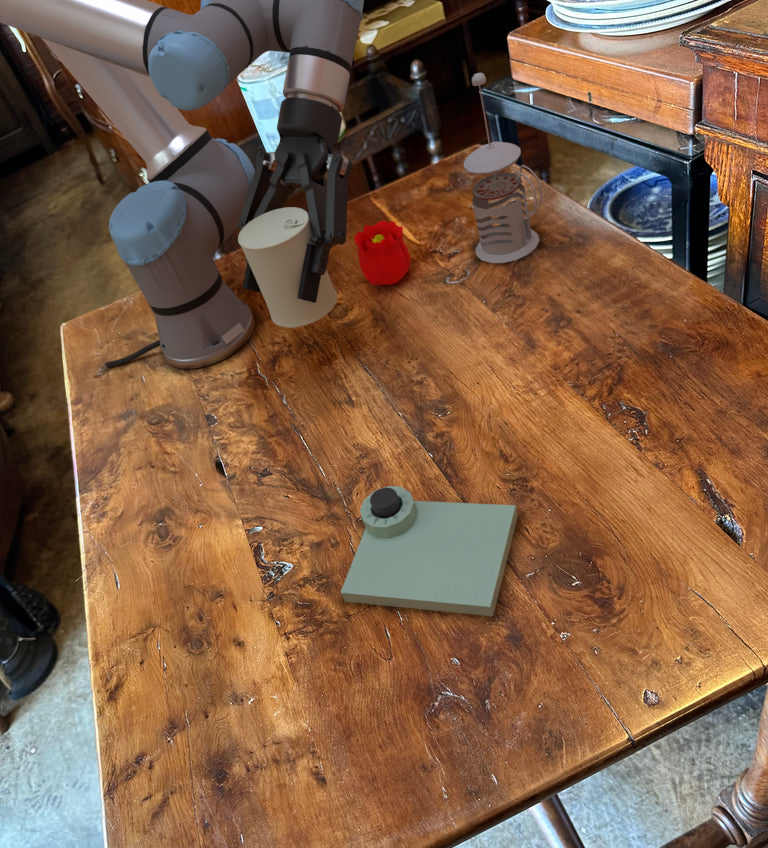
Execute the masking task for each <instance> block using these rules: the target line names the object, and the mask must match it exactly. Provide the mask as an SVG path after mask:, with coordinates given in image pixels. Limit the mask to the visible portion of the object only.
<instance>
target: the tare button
mask: <svg viewBox="0 0 768 848" xmlns="http://www.w3.org/2000/svg"><path fill="white" fill-rule="evenodd" d="M376 490H377V491H375V490H374V491H375V492H374V491H373V492H374V493H373V494H372V496H371V498H370V503H371V506H372V508H373V510H374V513H375V515H376V516H378V517H379V518H389V517H392V516H394V515H396V514H397V513H398V512H399V510H400V507H401V504H400V501H399V498H398V496H397V493H396V491H395V490H393V489H392V488H384V487H381V488H379V489H376Z"/></svg>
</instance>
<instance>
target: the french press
mask: <svg viewBox="0 0 768 848" xmlns="http://www.w3.org/2000/svg"><path fill="white" fill-rule="evenodd" d="M486 82H487V78H486V76H485V74H484V73H483V72H477V73H474V74H473V76H472V77H471V85H472V86H473V87H477V86H478V90H479V96H480V101H481V107H482V113H483V118H484V125H485V130H486V136H487V142H488V143H486V144H482V145H480V146H479V147H477V148H476V149H475V150H473V151H472V152H471V153H470V154H468V155H467V156H466V158H465V160H464V161H463V169H465V171H466V172H468V173H469V174H471V175H476V176H485V177H483V178H481V179H480V180H478V181H477V182H475V184H474V186H473V187H472V189H471V191H472V194H473V197H472V207H473V213H474V217H475V223H476V227H477V232H478V239H479V242H478V244H477V245H476V247H475V256H476V257H477V258H478V259H480V261H482V262H486V263H490V264H504V263H508V262H509V263H510V262H513V261H517V260H519V259H522V258H524V257H526V256H528V255H529V254H531V252H532V251H534V250H535V249H536V248H537V247H538V244H539V242H540V237H539V234H538V233H537V232H536V231H535V230H533V229H532V228H531V222H530V218H531V217H532V216H533V215H534V214H535V213H536V212H537V210H539V209H540V207H541V204H542V201H543V186H542V183H541V181H540V179H539V177H538V175H537V174H536V173H535V171H533V170H532V169H531V168H530V167H528V166H527V165H525V164H521V165H520V166H519V170H516V171H514V172H510V171H507V172H502V171H504V170H508V169H509V168H510V167H512V166H513V165H515V163H517V162H518V160H519V158H520V157H521V154H522V153H521V152H522V151H521V147H519V146H518V145H516V144H514V143H512V142H504V141H499V140H498V141H497V140H496V141H493V142H491V139H490V134H489V128H488V122H487V117H486V111H485V110H486V109H485V104H484V100H483V93H482V87H481V86H482V85H484V84H485V83H486ZM523 168H524V169H526V170H527V171H528V172H530V173H531V174H532V175H533V176H534V178H535V180H536V181H537V183H538V185H539V191H540V192H539V193H540V198H539V202H538V198H537V192H536V188H535V186H534V184H533V183H532V181H531V180H530V178H528V177H527V176H526V174H524V173H523ZM522 177H523V178H524V179H525V180H526V181H527V182H528V183H529V185H530V186H531V188H532V191H533V194H534V207H533V210H531V211H529V209H528V201H527V194H526V189H525V185H524V184H523V183H522V181H523V180H522ZM517 190H519V191H521V192H522V193H523V194H522V193H520V192H518V191H517ZM516 191H517V192H516ZM512 198H518V199H516V200H512V201H511V202H508V201H509V200H511V199H512ZM491 200H494V202H490V203H489V201H491ZM495 200H496V201H495ZM522 200H523V201H522ZM505 202H508V203H507V204H506V205H504V206H501V207H500V205H502V204H504V203H505ZM497 206H499V207H497ZM523 208H524V209H523ZM492 216H498V217H494V218H492ZM507 218H508V219H507Z"/></svg>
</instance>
